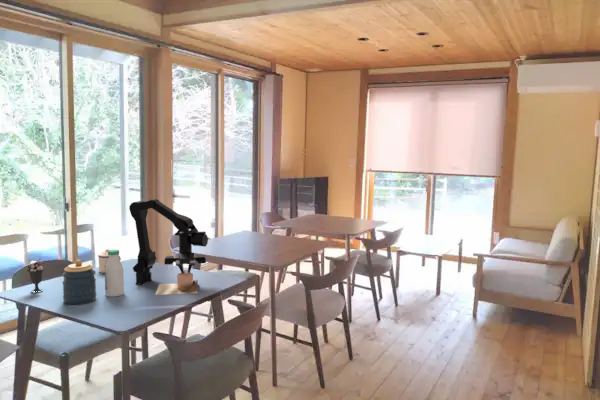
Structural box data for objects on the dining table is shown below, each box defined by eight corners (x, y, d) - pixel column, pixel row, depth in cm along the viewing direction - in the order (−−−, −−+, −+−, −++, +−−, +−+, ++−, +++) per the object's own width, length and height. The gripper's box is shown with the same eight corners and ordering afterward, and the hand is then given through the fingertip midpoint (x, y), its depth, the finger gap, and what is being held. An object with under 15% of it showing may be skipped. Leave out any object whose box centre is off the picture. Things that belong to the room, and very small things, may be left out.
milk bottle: (127, 292, 216) (126, 249, 213) (116, 298, 209) (114, 253, 206) (113, 290, 218) (112, 247, 216) (101, 295, 211) (100, 251, 209)
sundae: (48, 290, 218) (47, 258, 216) (35, 294, 211) (33, 261, 210) (38, 288, 220) (37, 256, 218) (25, 292, 214) (23, 259, 212)
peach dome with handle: (192, 290, 218) (192, 276, 217) (176, 290, 217) (176, 276, 216) (193, 283, 229) (193, 269, 228) (178, 283, 227) (178, 270, 227)
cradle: (155, 296, 211) (155, 290, 211) (159, 286, 226) (158, 280, 226) (196, 295, 214) (196, 288, 214) (197, 284, 230) (197, 278, 229)
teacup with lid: (105, 274, 245) (104, 252, 244) (95, 271, 250) (94, 249, 249) (125, 269, 255) (125, 248, 254) (115, 266, 260) (114, 245, 259)
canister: (75, 307, 196) (73, 265, 194) (56, 301, 203) (54, 260, 201) (103, 298, 207) (101, 259, 205) (84, 293, 214) (83, 254, 212)
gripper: (163, 249, 214) (163, 283, 216) (205, 248, 218) (205, 281, 220) (165, 244, 225) (165, 276, 227) (205, 243, 229) (205, 275, 231)
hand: (185, 277), depth 226 cm, fingers closed on peach dome with handle, 2 cm apart
